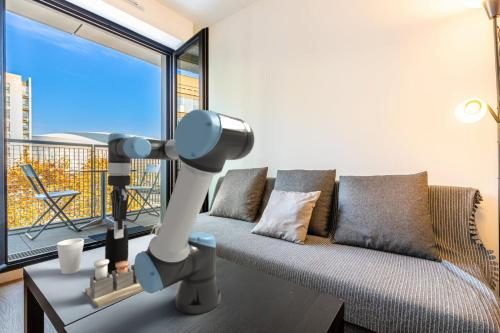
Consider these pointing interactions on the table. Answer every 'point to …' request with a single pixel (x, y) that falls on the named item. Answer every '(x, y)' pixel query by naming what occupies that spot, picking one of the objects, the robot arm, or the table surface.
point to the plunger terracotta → (122, 267)
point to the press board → (113, 287)
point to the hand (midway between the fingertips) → (118, 237)
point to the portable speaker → (115, 248)
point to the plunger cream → (101, 269)
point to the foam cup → (70, 255)
